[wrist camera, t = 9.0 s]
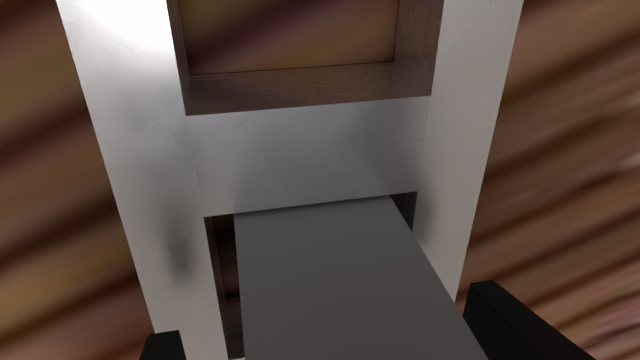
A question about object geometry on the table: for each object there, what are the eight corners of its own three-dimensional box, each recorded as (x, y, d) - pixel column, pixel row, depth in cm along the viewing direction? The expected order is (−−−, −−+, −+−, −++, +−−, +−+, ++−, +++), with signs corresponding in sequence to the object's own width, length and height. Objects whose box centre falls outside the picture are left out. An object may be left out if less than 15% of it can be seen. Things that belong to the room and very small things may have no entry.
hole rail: (508, -275, 9) (597, -324, 7) (397, 410, 22) (417, 464, 20) (15, -308, 7) (-58, -385, 5) (208, 449, 20) (208, 512, 18)
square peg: (363, 151, 14) (507, 392, 7) (357, 251, 16) (464, 508, 9) (229, 165, 13) (252, 445, 6) (242, 267, 15) (268, 558, 9)
